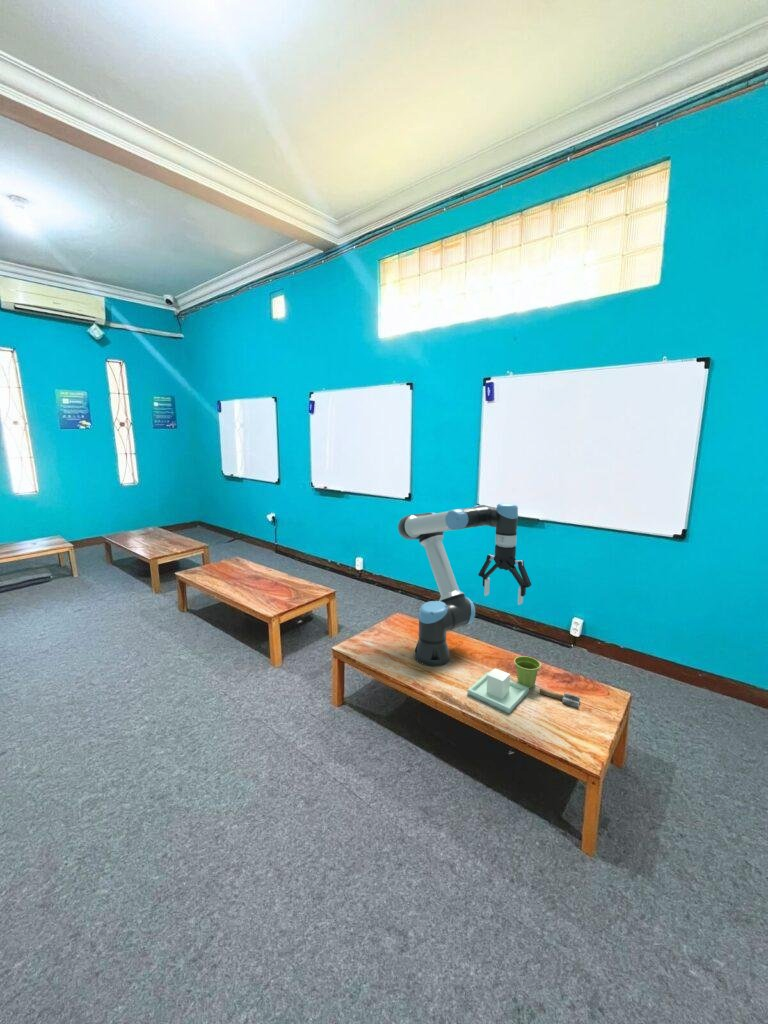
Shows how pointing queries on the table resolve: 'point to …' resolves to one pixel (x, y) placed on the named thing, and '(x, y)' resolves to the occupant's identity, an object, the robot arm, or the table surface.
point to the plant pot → (527, 670)
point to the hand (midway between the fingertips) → (502, 599)
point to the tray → (505, 704)
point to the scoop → (563, 698)
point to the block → (498, 683)
